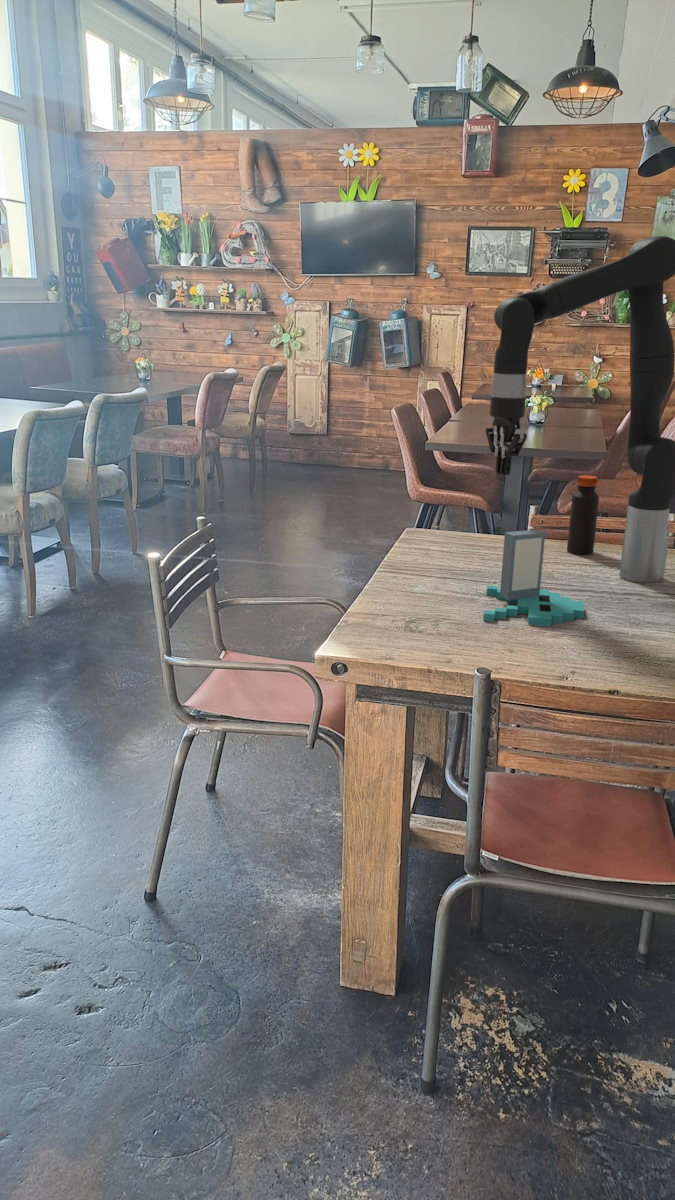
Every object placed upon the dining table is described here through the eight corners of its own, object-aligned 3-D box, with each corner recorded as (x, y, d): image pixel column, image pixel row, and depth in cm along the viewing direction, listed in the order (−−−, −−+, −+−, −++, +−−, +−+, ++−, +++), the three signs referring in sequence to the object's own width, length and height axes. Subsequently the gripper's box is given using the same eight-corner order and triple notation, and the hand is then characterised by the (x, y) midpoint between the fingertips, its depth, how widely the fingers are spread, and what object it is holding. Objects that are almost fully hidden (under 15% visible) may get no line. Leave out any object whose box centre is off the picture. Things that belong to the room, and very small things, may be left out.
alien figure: (482, 624, 172) (585, 632, 169) (483, 613, 172) (586, 621, 168) (486, 595, 191) (579, 601, 187) (487, 585, 190) (580, 591, 187)
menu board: (531, 592, 186) (536, 529, 182) (539, 596, 183) (545, 532, 179) (499, 596, 183) (504, 532, 179) (507, 600, 180) (513, 535, 176)
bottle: (597, 554, 224) (606, 478, 218) (574, 555, 222) (581, 479, 216) (585, 548, 230) (593, 474, 224) (562, 549, 229) (569, 475, 222)
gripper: (541, 397, 182) (534, 478, 187) (505, 392, 194) (500, 468, 199) (511, 397, 179) (505, 480, 185) (477, 392, 191) (472, 470, 196)
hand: (502, 473), depth 192 cm, fingers closed
